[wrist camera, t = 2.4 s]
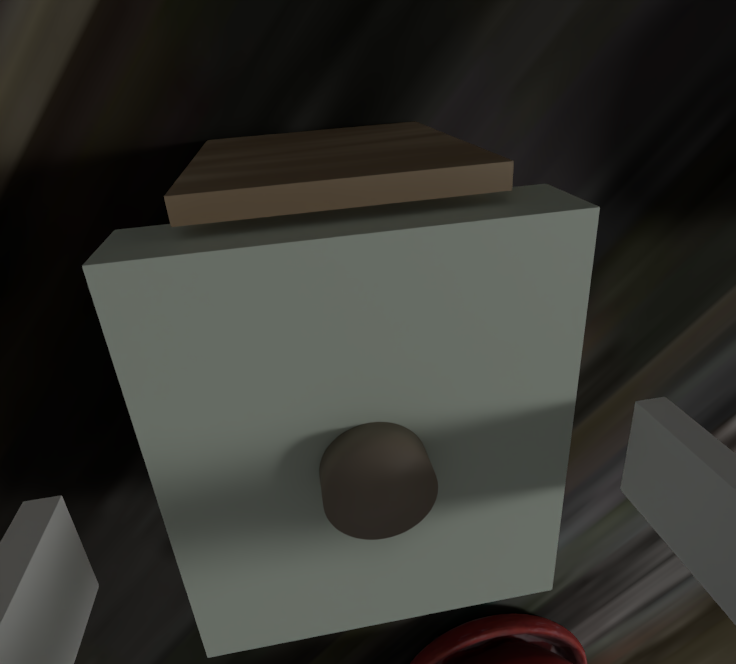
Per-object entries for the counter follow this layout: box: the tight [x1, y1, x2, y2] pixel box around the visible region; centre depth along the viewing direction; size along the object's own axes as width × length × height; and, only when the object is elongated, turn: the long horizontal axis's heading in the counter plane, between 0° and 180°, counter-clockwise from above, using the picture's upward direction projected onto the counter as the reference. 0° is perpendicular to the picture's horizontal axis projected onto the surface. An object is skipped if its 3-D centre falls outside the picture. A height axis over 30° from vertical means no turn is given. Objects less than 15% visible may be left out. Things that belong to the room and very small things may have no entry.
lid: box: [82, 184, 600, 658], centre depth 14 cm, size 11×10×3 cm
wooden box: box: [164, 121, 514, 227], centre depth 18 cm, size 13×7×8 cm, turn 4°
